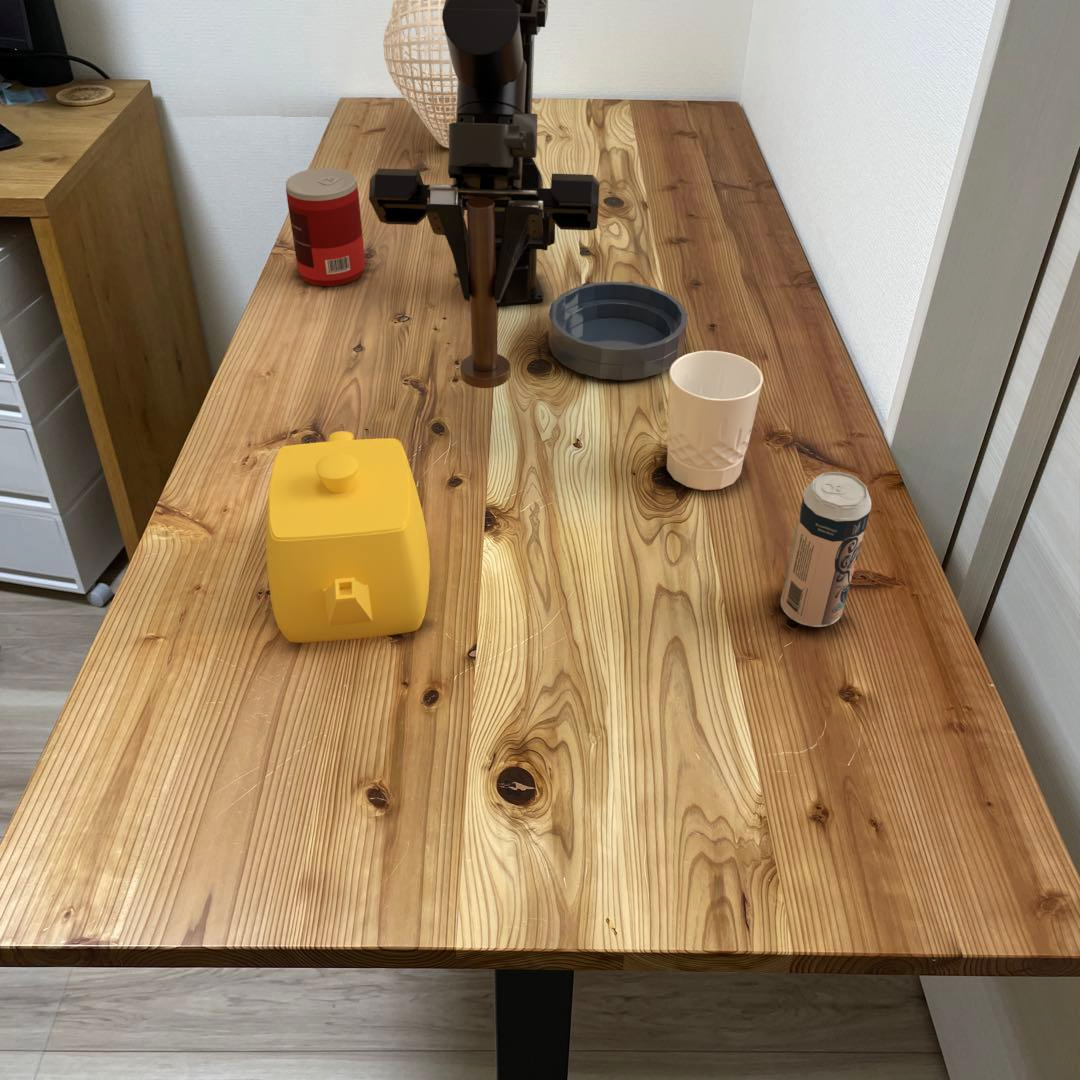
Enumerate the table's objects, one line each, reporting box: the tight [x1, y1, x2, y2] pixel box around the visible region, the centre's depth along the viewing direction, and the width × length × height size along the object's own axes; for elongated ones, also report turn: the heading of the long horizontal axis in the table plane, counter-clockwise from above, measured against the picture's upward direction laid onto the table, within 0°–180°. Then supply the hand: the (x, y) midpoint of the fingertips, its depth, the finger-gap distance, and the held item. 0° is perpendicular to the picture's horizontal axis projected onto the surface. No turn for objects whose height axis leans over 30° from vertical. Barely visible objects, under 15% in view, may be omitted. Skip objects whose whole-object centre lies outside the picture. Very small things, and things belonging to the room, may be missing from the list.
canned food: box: [285, 167, 366, 287], centre depth 122 cm, size 8×8×11 cm
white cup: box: [665, 350, 764, 491], centre depth 94 cm, size 8×8×10 cm
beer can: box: [780, 471, 872, 628], centre depth 79 cm, size 5×5×12 cm
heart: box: [382, 0, 458, 149], centre depth 148 cm, size 28×16×22 cm, turn 2°
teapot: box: [265, 430, 431, 644], centre depth 81 cm, size 20×12×12 cm, turn 8°
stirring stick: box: [459, 197, 511, 389], centre depth 90 cm, size 4×4×16 cm
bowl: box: [547, 281, 688, 381], centre depth 112 cm, size 14×14×4 cm
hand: (481, 300), depth 89 cm, fingers closed on stirring stick, 2 cm apart
